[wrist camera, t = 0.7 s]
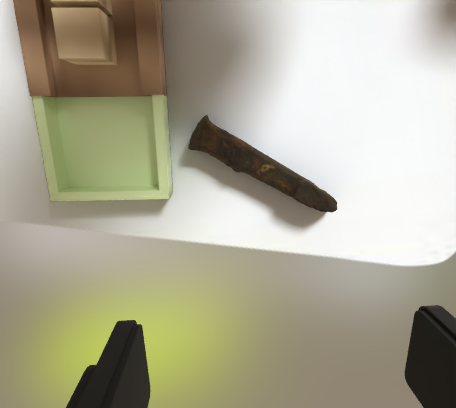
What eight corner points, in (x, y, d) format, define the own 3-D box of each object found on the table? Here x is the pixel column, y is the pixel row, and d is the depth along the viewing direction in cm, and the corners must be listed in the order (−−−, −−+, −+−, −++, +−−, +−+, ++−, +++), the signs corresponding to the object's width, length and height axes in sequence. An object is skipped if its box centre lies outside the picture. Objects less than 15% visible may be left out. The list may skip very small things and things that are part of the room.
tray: (48, 97, 34) (31, 96, 31) (166, 96, 35) (161, 94, 32) (64, 194, 37) (50, 201, 34) (172, 192, 38) (169, 198, 35)
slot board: (23, -54, 30) (-1, -75, 27) (157, -53, 31) (150, -74, 27) (48, 97, 34) (30, 95, 31) (166, 96, 35) (161, 94, 31)
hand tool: (187, 143, 36) (183, 148, 32) (204, 113, 36) (202, 113, 31) (316, 220, 40) (329, 234, 35) (335, 194, 39) (350, 205, 34)
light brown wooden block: (72, 21, 31) (51, 7, 27) (113, 21, 31) (98, 7, 27) (78, 65, 32) (58, 58, 28) (117, 64, 32) (104, 58, 28)
